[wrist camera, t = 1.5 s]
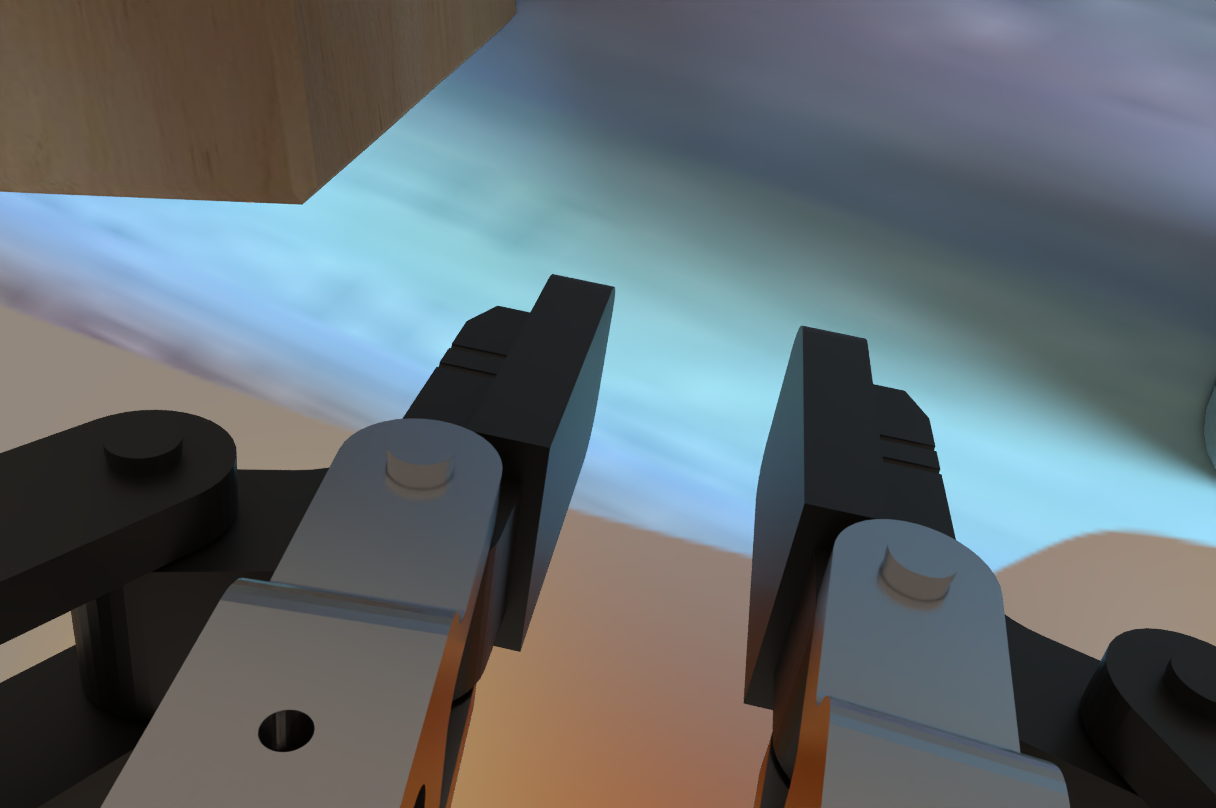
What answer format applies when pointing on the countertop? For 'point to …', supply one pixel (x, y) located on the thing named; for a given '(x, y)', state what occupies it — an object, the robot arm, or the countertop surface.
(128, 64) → the decorative block
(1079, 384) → the countertop surface
